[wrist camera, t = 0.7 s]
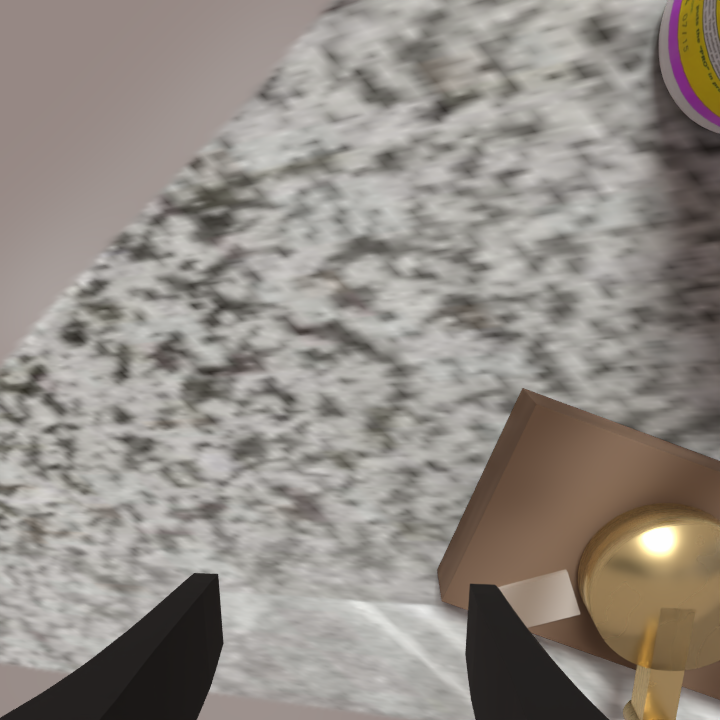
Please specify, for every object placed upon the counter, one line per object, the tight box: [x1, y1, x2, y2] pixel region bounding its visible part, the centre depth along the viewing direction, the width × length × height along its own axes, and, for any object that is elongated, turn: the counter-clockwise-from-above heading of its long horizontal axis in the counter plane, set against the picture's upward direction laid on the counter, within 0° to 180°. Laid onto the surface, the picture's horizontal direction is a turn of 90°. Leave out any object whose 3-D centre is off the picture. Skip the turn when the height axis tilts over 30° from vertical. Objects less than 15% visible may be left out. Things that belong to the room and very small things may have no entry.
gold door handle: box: [578, 503, 720, 720], centre depth 18 cm, size 10×6×4 cm, turn 0°
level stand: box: [437, 388, 720, 700], centre depth 20 cm, size 14×10×4 cm
